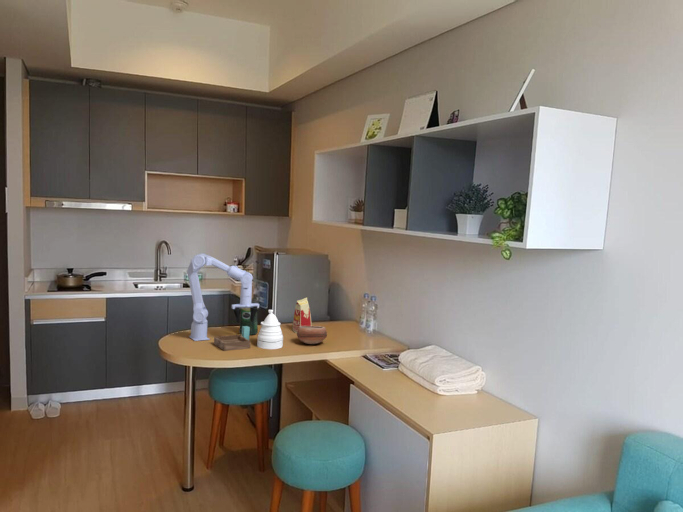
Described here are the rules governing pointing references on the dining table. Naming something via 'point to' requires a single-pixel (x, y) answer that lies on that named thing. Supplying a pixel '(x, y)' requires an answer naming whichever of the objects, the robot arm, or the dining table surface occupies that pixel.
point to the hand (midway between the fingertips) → (244, 321)
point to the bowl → (311, 334)
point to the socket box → (232, 342)
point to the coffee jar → (248, 320)
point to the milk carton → (301, 314)
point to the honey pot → (270, 333)
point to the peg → (245, 332)
